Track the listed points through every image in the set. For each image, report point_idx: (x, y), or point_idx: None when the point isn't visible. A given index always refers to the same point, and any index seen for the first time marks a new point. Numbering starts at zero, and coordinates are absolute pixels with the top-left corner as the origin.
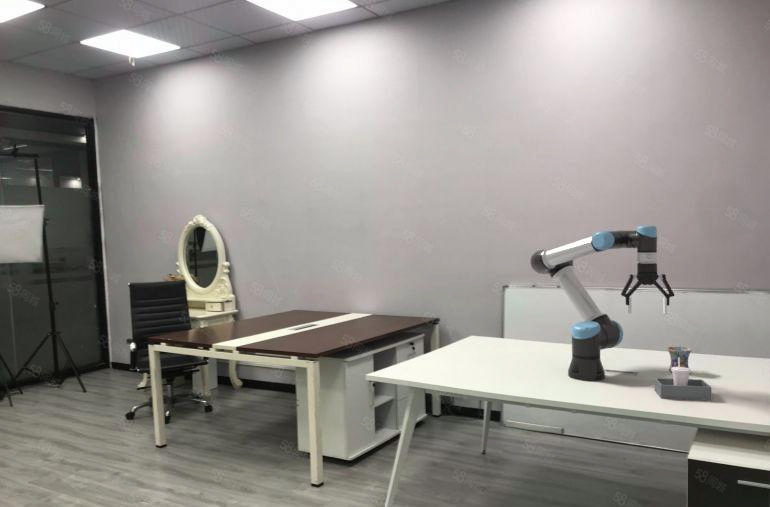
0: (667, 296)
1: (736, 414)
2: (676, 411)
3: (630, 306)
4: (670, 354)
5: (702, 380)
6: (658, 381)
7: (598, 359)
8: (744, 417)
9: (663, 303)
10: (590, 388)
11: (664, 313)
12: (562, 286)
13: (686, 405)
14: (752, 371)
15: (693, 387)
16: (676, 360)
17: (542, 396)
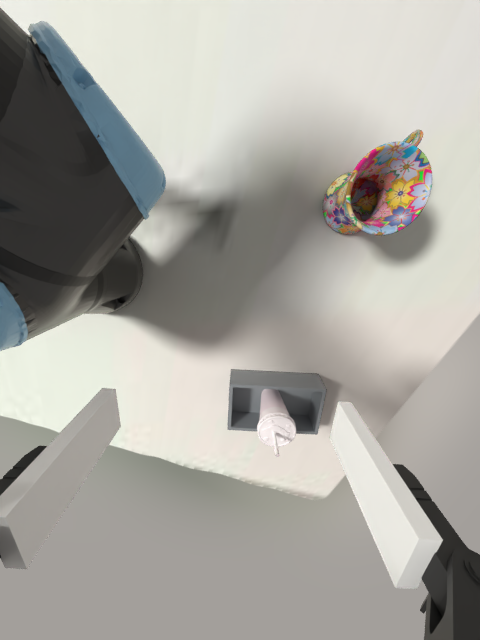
0: (441, 618)
1: (313, 469)
2: (233, 464)
3: (83, 471)
4: (345, 198)
5: (323, 395)
6: (230, 407)
7: (99, 301)
8: (317, 478)
9: (372, 474)
10: (109, 364)
11: (331, 431)
12: None
13: (258, 440)
14: None
15: None
16: (349, 220)
17: (28, 415)
